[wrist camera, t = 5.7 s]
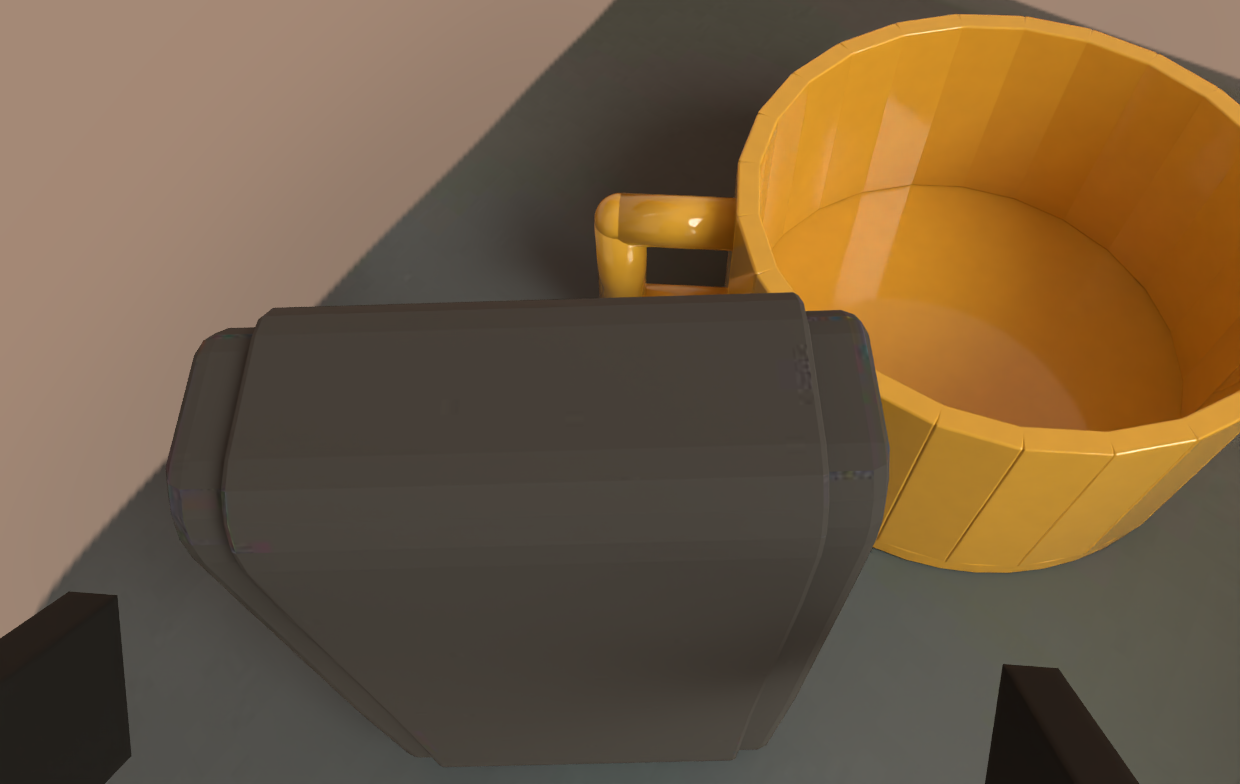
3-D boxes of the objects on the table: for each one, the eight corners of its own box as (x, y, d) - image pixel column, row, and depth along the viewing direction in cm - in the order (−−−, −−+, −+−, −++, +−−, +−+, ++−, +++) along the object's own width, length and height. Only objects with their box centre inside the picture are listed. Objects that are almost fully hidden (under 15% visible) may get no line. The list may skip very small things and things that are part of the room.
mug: (1141, 194, 33) (1249, 21, 27) (1245, 592, 26) (1424, 473, 20) (621, 172, 34) (615, 2, 28) (579, 546, 27) (559, 422, 21)
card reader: (764, 609, 26) (876, 243, 13) (780, 767, 24) (931, 516, 11) (424, 618, 26) (205, 264, 13) (409, 776, 24) (133, 538, 11)
